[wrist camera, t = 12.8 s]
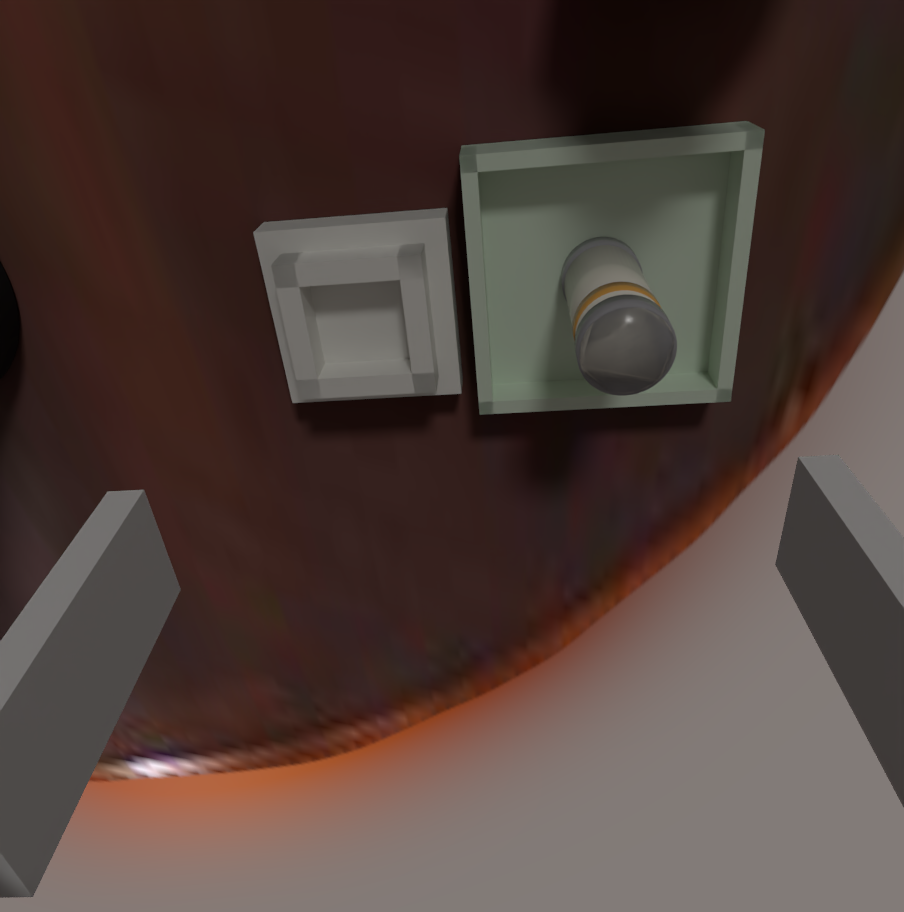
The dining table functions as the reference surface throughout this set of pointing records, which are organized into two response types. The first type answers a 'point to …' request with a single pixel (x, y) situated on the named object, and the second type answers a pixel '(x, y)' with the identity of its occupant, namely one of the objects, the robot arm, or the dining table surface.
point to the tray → (618, 216)
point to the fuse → (616, 319)
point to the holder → (363, 304)
